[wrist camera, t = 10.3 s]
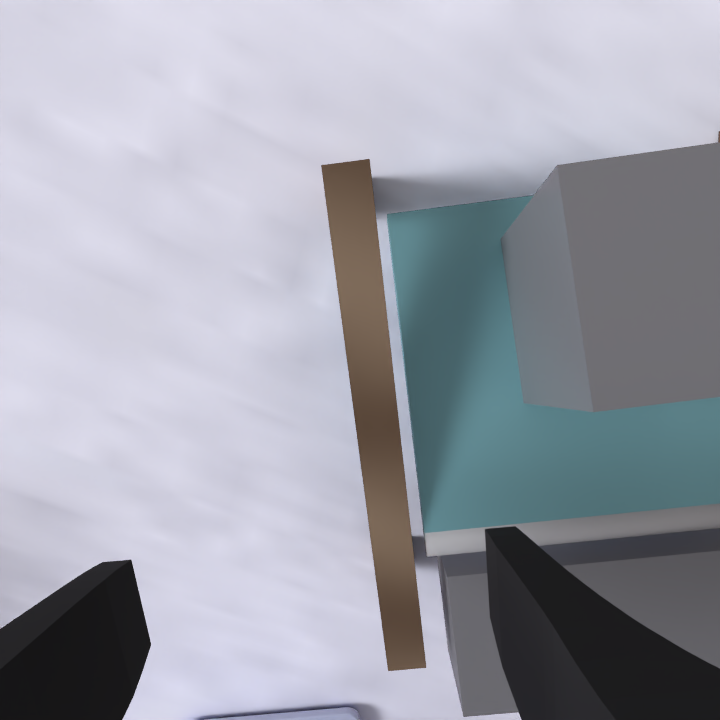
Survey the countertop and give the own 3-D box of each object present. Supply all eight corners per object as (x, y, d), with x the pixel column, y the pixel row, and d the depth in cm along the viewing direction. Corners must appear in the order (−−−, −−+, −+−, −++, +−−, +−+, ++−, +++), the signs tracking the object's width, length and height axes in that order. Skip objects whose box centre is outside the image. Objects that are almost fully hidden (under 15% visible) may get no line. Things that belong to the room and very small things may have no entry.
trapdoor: (744, 623, 19) (837, 685, 15) (434, 651, 20) (446, 718, 16) (683, 210, 20) (757, 165, 16) (387, 246, 21) (387, 213, 17)
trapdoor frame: (734, 530, 22) (853, 629, 16) (383, 564, 22) (388, 671, 17) (755, 126, 18) (916, 87, 13) (334, 181, 19) (321, 165, 13)
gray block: (673, 385, 16) (823, 384, 10) (523, 403, 16) (593, 412, 11) (647, 219, 16) (780, 133, 11) (500, 238, 16) (557, 165, 11)
